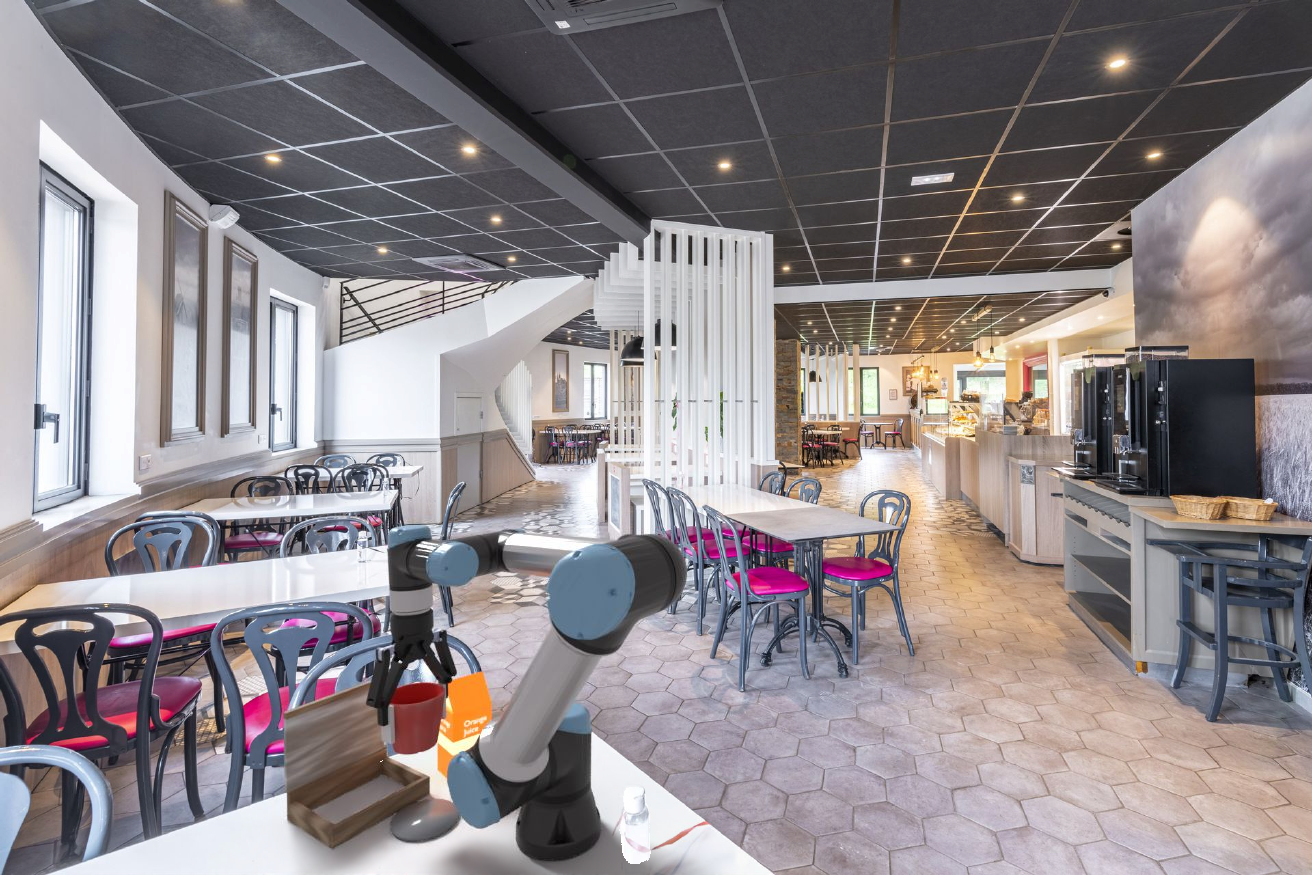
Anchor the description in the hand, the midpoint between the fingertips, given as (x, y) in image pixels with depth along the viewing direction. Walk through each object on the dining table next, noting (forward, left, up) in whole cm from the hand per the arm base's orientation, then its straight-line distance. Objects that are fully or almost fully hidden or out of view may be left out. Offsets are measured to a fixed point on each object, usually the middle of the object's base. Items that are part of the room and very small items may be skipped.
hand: (415, 729), depth 120 cm
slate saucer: (-2, -1, -17) cm, 17 cm away
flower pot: (0, 0, -3) cm, 3 cm away
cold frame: (+14, +3, -17) cm, 22 cm away
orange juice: (+6, -17, -17) cm, 25 cm away
